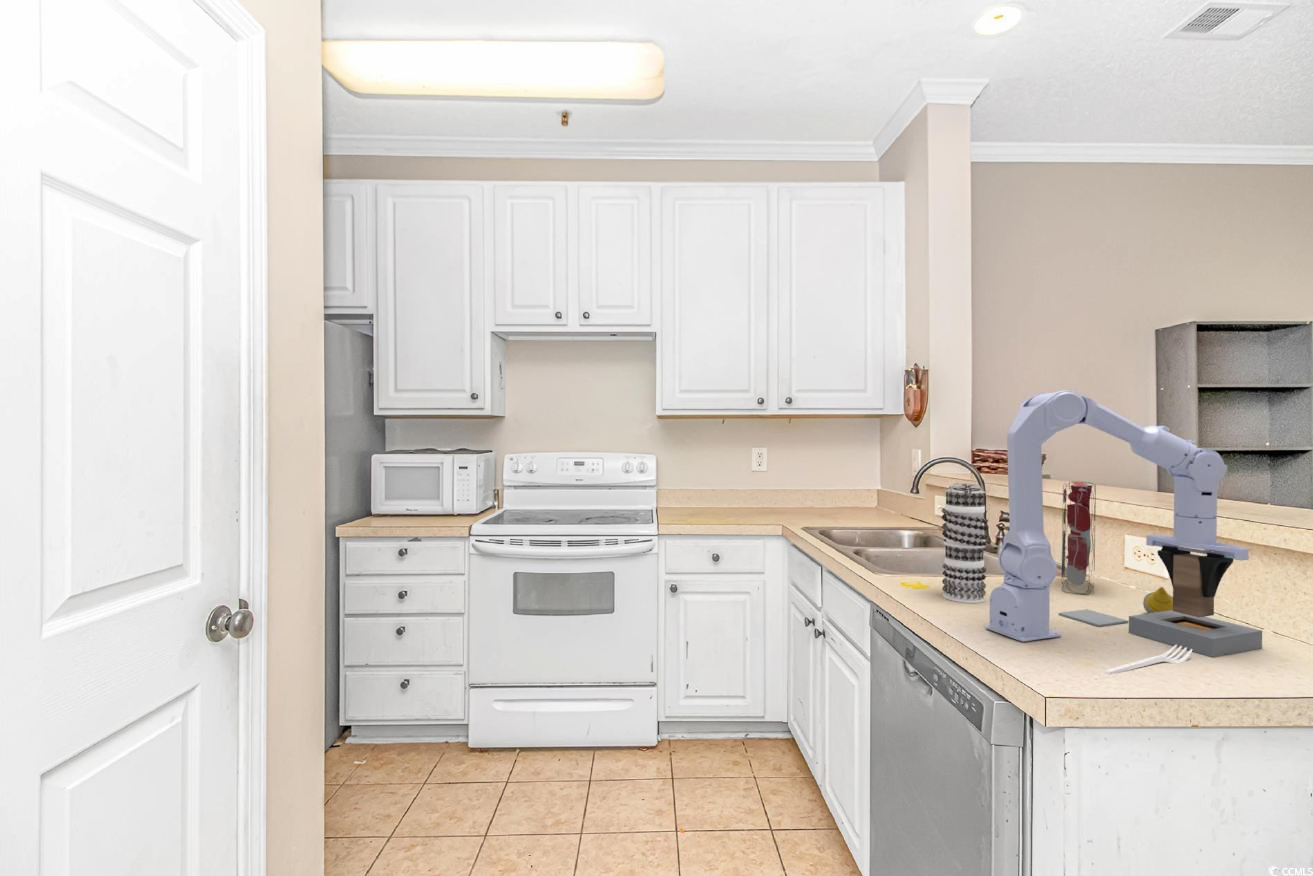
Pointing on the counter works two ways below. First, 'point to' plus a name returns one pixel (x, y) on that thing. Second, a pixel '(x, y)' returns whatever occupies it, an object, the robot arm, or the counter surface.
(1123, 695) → the counter surface
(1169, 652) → the fork
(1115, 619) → the flat gray square panel
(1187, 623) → the button
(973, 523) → the decorative candle
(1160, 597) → the drill bit
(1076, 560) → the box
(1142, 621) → the gray square frame
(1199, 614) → the wooden rectangular post
